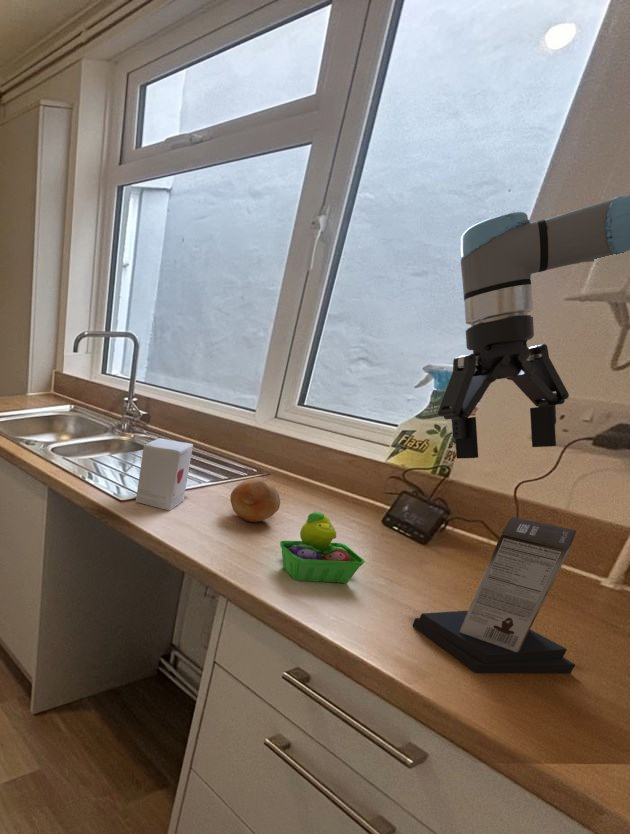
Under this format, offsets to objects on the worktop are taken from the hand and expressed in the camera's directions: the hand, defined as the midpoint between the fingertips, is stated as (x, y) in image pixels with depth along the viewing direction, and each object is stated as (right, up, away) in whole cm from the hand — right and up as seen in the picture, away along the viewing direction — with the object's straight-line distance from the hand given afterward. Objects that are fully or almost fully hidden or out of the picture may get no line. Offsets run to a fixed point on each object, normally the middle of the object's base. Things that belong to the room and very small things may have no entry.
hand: (505, 452), depth 85 cm
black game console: (-11, -30, -8) cm, 33 cm away
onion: (-22, -12, +36) cm, 43 cm away
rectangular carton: (-38, -8, +46) cm, 61 cm away
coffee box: (-11, -27, -9) cm, 31 cm away
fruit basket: (-23, -22, +13) cm, 34 cm away
